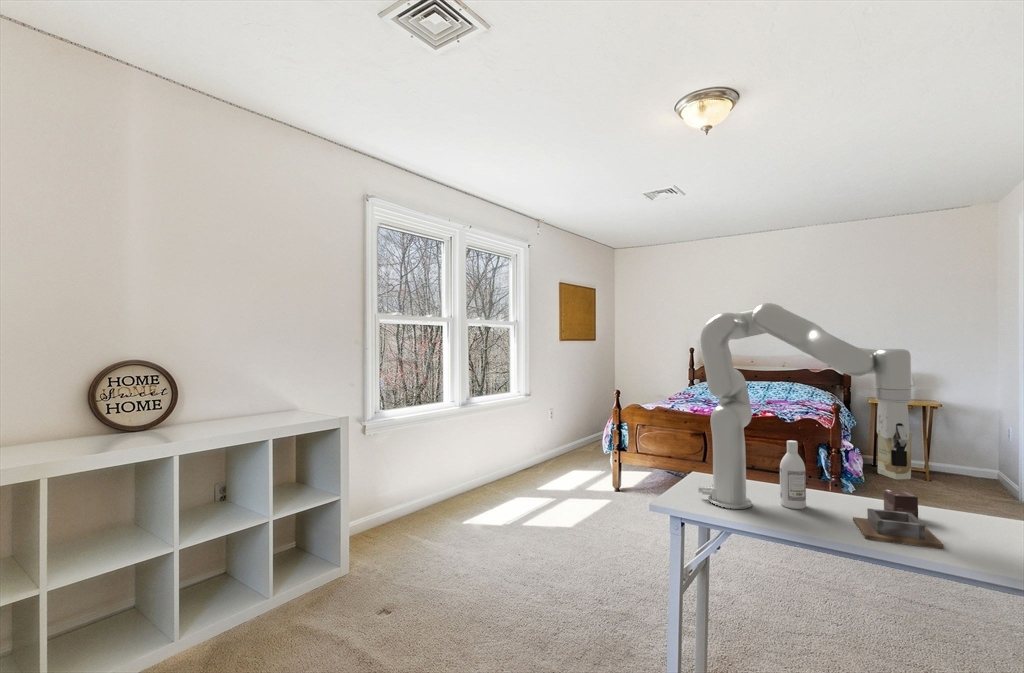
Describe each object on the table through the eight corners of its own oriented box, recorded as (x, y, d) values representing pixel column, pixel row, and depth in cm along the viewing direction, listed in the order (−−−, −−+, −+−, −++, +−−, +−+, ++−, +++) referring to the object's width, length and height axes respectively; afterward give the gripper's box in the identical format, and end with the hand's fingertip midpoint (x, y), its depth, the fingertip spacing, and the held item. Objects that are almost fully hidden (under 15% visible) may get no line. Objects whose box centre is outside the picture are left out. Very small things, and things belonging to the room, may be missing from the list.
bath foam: (811, 508, 153) (810, 442, 153) (794, 510, 150) (793, 444, 150) (791, 501, 159) (790, 438, 159) (775, 503, 157) (774, 440, 157)
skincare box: (876, 473, 135) (876, 428, 135) (891, 473, 136) (891, 427, 136) (897, 480, 129) (896, 432, 129) (912, 479, 129) (912, 432, 129)
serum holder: (865, 539, 129) (865, 521, 129) (852, 520, 142) (852, 504, 142) (943, 548, 123) (943, 530, 123) (922, 528, 136) (922, 511, 136)
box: (919, 523, 140) (918, 496, 140) (894, 521, 141) (894, 495, 141) (906, 515, 146) (906, 490, 146) (883, 514, 147) (882, 489, 147)
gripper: (867, 391, 142) (868, 454, 142) (885, 398, 126) (886, 469, 126) (899, 392, 139) (900, 456, 139) (922, 399, 123) (923, 471, 123)
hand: (894, 461), depth 132 cm, fingers closed on skincare box, 7 cm apart
